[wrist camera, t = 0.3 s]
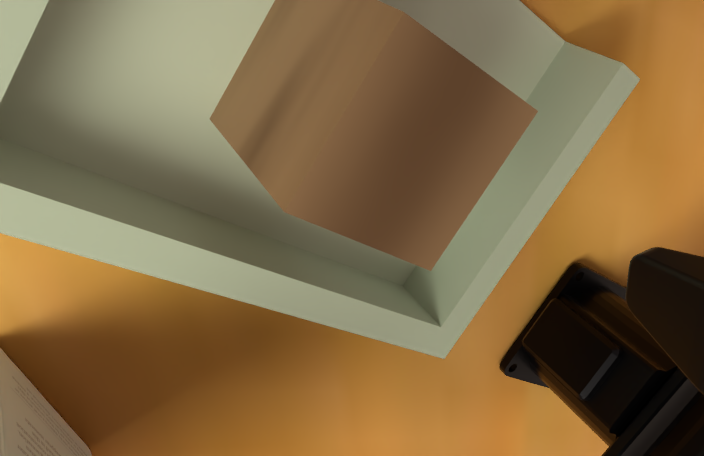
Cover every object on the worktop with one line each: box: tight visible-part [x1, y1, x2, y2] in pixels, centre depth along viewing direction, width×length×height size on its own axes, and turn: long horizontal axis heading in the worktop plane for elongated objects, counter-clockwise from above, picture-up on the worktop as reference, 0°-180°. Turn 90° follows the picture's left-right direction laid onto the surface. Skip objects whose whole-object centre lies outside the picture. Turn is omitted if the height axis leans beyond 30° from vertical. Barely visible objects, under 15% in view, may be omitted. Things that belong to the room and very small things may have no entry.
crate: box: [0, 0, 640, 359], centre depth 20 cm, size 18×12×3 cm, turn 54°
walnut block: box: [210, 0, 538, 271], centre depth 18 cm, size 5×5×6 cm
